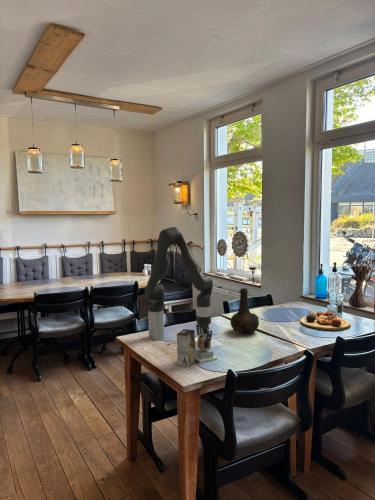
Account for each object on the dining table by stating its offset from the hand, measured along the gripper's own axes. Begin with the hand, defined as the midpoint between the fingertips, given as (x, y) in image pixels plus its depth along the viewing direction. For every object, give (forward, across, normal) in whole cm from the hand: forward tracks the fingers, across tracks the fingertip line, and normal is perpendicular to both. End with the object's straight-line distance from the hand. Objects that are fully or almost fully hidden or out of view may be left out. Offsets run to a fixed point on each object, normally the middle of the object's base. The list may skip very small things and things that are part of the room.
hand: (204, 346), depth 197 cm
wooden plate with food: (+7, -17, +101) cm, 102 cm away
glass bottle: (+7, -27, +43) cm, 51 cm away
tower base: (+6, 0, 0) cm, 6 cm away
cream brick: (+6, -15, +4) cm, 17 cm away
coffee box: (+7, +1, -11) cm, 13 cm away
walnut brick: (+1, 0, 0) cm, 1 cm away
